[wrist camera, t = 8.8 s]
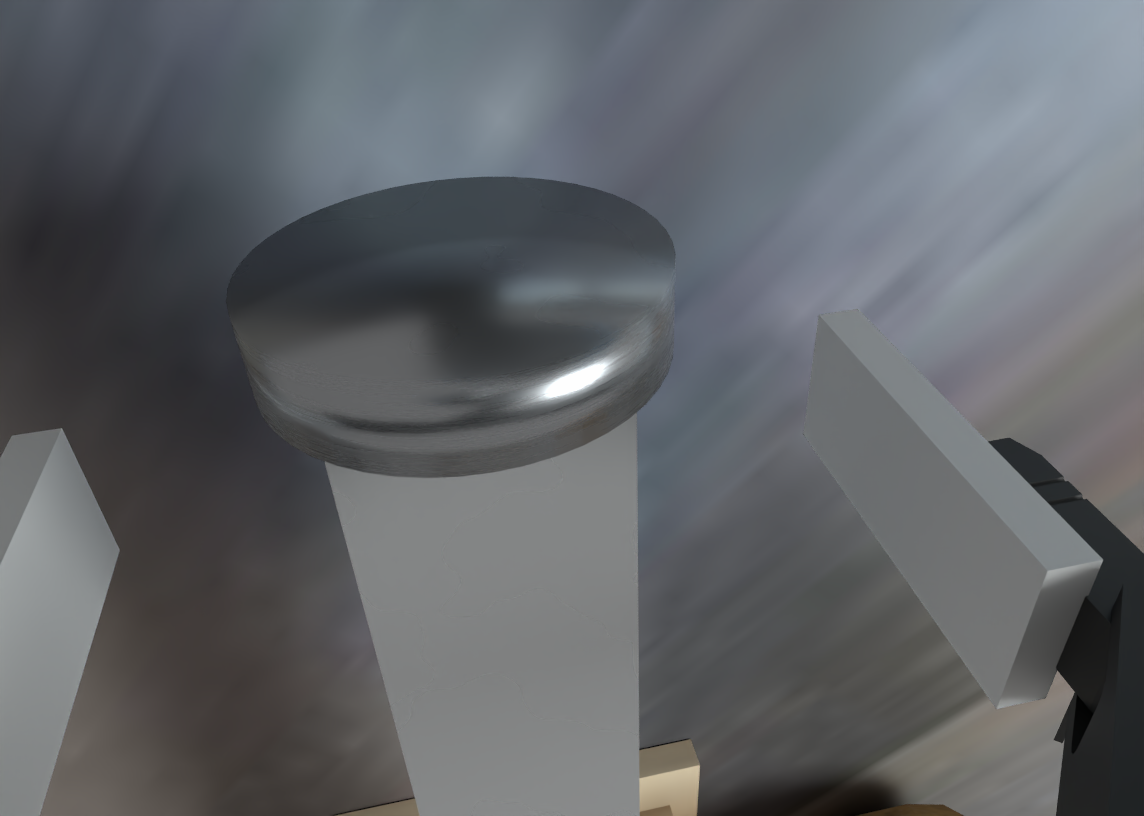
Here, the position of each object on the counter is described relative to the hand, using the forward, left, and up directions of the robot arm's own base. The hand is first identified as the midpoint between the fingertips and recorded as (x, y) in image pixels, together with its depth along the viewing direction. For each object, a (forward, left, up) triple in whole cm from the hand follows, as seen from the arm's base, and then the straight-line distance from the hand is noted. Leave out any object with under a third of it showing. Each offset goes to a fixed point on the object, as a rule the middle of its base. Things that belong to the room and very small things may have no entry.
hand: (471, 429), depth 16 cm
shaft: (+8, 0, +1) cm, 8 cm away
